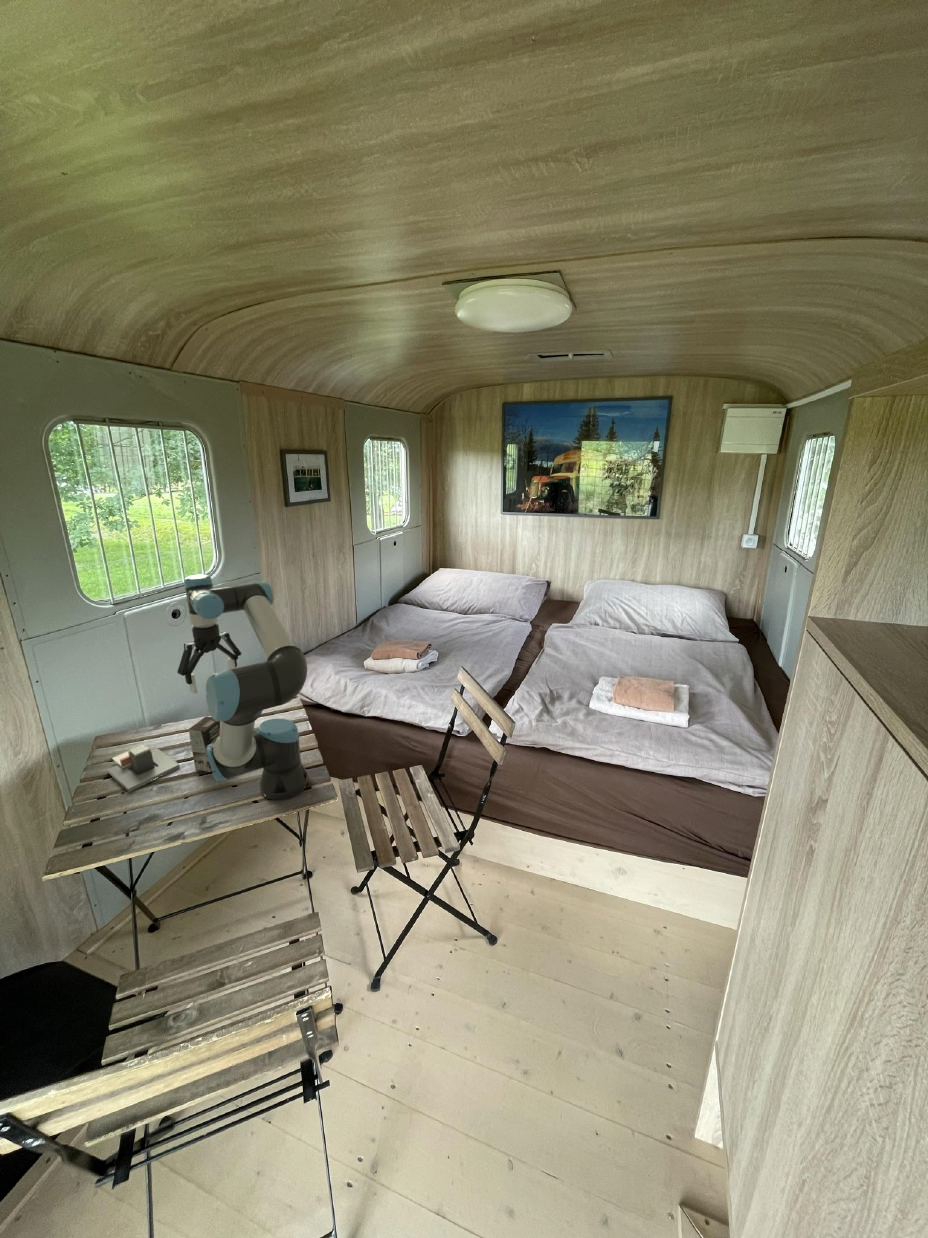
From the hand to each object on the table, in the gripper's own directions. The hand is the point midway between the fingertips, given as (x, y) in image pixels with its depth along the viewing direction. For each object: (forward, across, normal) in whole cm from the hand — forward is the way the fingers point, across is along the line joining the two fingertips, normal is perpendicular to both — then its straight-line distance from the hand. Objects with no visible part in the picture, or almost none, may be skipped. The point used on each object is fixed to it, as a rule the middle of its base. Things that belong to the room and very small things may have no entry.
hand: (214, 684), depth 164 cm
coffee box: (+32, +2, -5) cm, 32 cm away
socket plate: (+31, +18, -20) cm, 41 cm away
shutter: (+30, +18, -28) cm, 45 cm away
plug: (+31, +18, -20) cm, 41 cm away
